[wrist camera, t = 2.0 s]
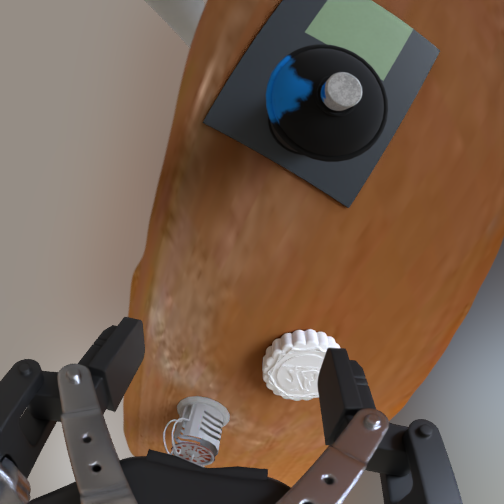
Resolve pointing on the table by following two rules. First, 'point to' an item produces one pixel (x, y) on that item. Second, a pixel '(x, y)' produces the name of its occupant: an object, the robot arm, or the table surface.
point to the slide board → (330, 33)
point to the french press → (198, 429)
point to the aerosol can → (326, 103)
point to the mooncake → (296, 363)
